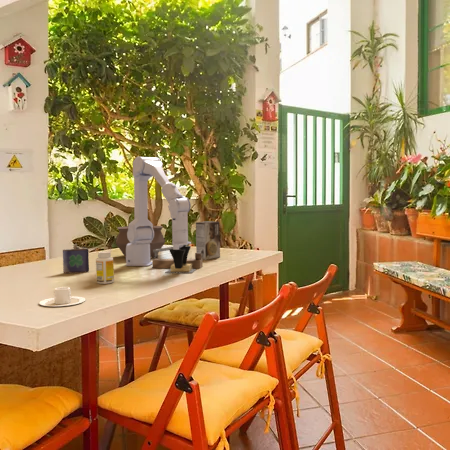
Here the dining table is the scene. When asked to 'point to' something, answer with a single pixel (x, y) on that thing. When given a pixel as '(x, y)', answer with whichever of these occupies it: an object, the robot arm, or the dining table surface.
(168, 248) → the lever
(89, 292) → the dining table surface
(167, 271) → the mat
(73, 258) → the flask
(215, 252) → the coffee box
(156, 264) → the body
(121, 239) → the brown round pot
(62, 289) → the candle holder
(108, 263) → the supplement bottle
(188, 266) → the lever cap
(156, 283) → the dining table surface
